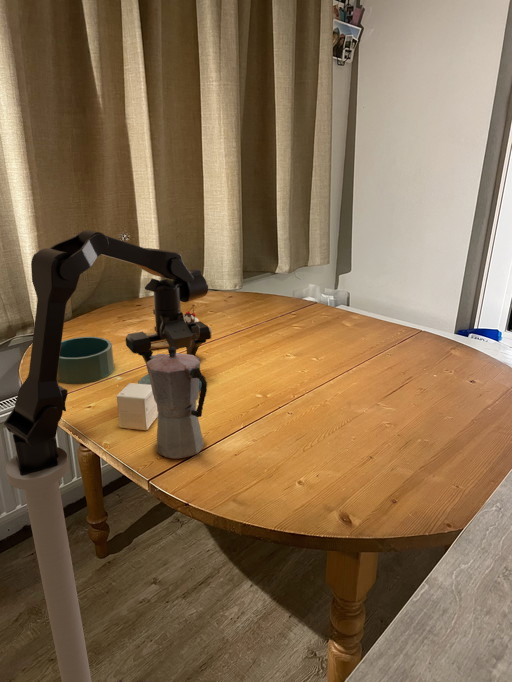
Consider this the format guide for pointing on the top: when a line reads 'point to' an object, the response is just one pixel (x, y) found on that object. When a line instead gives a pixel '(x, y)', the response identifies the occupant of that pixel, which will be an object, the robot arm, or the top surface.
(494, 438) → the top surface
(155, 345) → the cookie
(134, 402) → the product box
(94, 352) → the pot
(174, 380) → the moka pot
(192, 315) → the sundae
